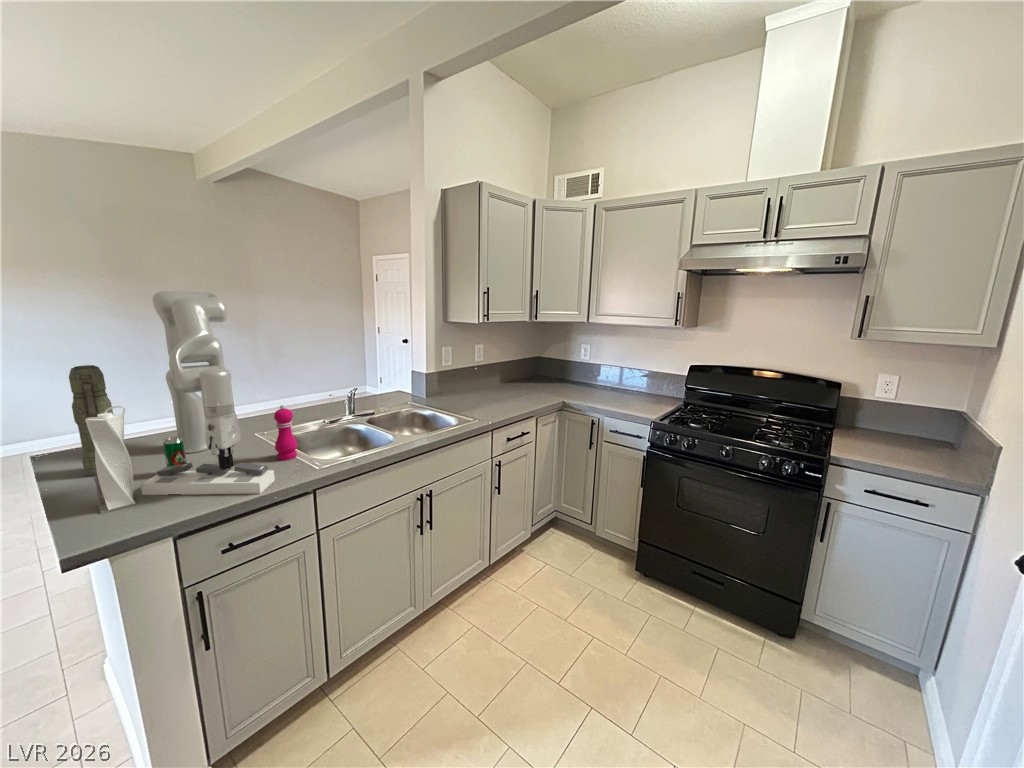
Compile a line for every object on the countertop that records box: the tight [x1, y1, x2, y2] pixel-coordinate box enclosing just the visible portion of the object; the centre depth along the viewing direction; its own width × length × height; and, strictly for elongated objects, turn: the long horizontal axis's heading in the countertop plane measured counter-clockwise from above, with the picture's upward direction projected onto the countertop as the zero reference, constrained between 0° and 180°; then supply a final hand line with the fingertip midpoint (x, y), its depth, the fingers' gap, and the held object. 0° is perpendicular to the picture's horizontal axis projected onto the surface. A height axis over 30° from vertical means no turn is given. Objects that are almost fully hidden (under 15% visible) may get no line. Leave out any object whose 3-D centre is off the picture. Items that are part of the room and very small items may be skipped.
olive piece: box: [68, 364, 114, 477], centre depth 130 cm, size 9×12×35 cm
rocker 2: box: [233, 462, 269, 475], centre depth 127 cm, size 8×4×2 cm, turn 95°
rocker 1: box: [156, 462, 194, 476], centre depth 125 cm, size 8×4×2 cm, turn 95°
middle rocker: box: [195, 463, 232, 475], centre depth 126 cm, size 8×4×2 cm, turn 95°
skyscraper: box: [85, 405, 136, 515], centre depth 111 cm, size 8×8×28 cm
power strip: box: [140, 469, 276, 496], centre depth 125 cm, size 33×9×4 cm, turn 95°
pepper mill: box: [273, 404, 298, 461], centre depth 148 cm, size 7×7×20 cm
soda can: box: [162, 435, 187, 467], centre depth 133 cm, size 5×5×12 cm
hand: (226, 467), depth 126 cm, fingers closed
